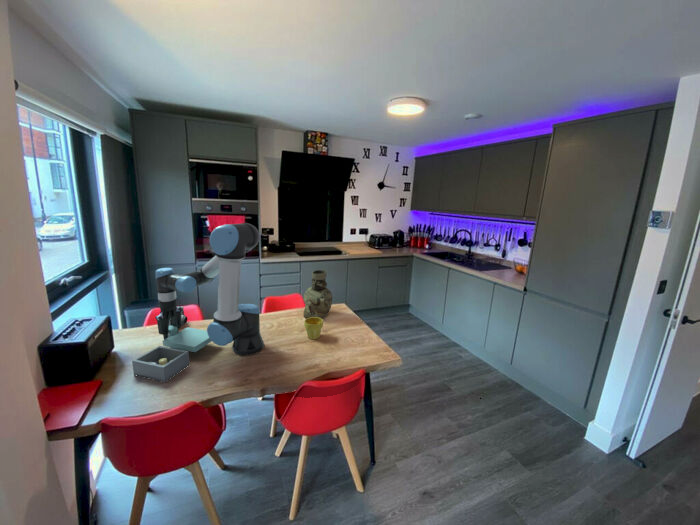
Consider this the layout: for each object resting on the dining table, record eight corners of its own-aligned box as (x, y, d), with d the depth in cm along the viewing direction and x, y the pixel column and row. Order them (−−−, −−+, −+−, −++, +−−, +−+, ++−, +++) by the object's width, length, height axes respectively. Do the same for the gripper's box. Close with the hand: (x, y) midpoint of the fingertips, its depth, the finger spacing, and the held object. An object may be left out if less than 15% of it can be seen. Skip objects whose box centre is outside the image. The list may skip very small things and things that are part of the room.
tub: (189, 365, 129) (188, 351, 128) (165, 382, 117) (163, 367, 116) (160, 359, 133) (159, 345, 132) (134, 375, 121) (131, 360, 119)
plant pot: (300, 338, 158) (300, 322, 156) (310, 331, 167) (310, 315, 165) (317, 342, 154) (317, 326, 152) (325, 334, 164) (326, 319, 162)
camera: (180, 331, 160) (179, 314, 158) (165, 331, 160) (163, 315, 157) (191, 321, 174) (190, 305, 172) (177, 321, 173) (175, 305, 171)
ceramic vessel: (312, 325, 175) (313, 278, 168) (297, 313, 191) (297, 270, 185) (338, 319, 186) (340, 274, 179) (322, 308, 202) (323, 267, 196)
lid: (217, 338, 147) (217, 327, 145) (195, 353, 132) (194, 341, 131) (180, 331, 152) (179, 321, 151) (154, 345, 138) (153, 333, 136)
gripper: (175, 293, 149) (179, 334, 154) (145, 304, 132) (150, 350, 138) (187, 294, 147) (191, 336, 152) (158, 306, 131) (163, 352, 136)
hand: (172, 342), depth 145 cm, fingers closed on lid, 4 cm apart
